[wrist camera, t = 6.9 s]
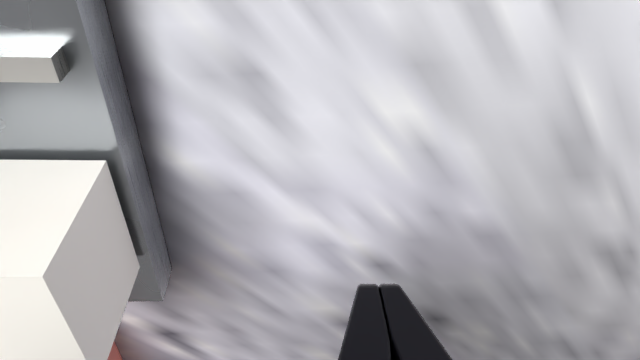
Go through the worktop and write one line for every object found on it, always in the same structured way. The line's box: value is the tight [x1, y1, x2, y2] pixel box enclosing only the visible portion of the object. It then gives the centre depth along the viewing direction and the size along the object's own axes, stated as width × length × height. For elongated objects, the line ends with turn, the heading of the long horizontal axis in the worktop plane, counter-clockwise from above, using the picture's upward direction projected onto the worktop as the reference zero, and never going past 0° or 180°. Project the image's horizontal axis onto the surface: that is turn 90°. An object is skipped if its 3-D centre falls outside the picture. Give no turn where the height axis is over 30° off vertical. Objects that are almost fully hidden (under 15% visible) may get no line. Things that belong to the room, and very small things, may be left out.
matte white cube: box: [0, 160, 140, 360], centre depth 10 cm, size 4×4×3 cm
